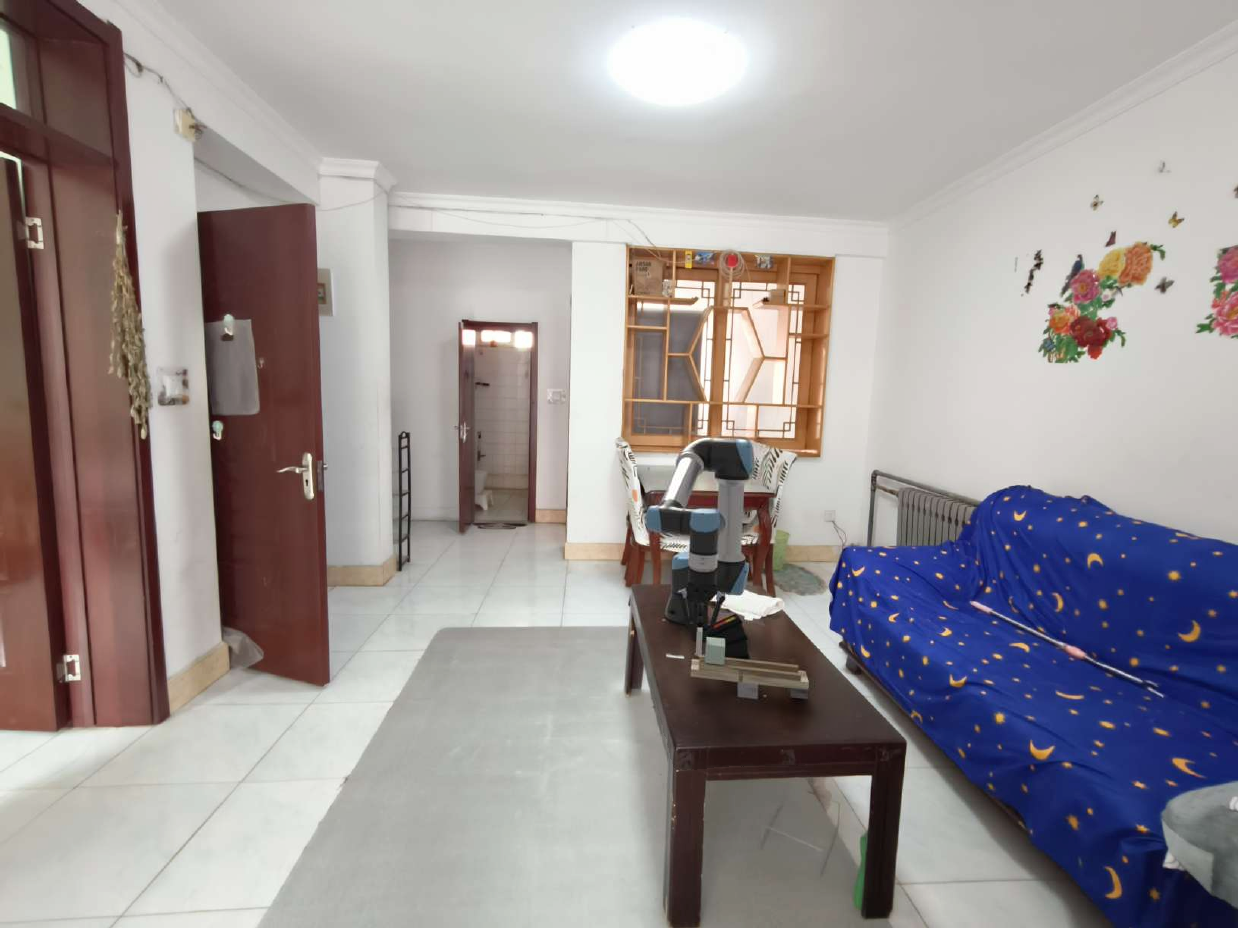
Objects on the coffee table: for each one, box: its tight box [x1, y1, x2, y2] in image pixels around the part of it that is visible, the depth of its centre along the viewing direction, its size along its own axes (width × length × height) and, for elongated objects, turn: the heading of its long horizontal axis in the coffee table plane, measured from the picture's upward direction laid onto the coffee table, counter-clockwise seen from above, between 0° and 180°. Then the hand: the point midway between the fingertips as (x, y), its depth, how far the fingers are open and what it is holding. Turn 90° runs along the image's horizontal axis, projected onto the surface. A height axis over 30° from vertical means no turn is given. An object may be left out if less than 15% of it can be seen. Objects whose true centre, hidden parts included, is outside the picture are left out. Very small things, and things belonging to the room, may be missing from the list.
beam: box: [690, 654, 810, 700], centre depth 144 cm, size 6×30×8 cm, turn 80°
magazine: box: [707, 613, 751, 660], centre depth 159 cm, size 4×13×15 cm, turn 92°
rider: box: [704, 637, 725, 665], centre depth 145 cm, size 5×5×7 cm
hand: (698, 652), depth 146 cm, fingers closed
